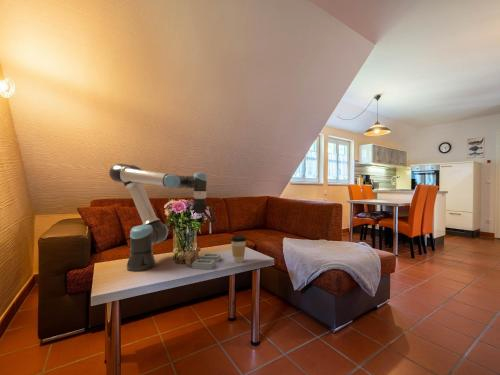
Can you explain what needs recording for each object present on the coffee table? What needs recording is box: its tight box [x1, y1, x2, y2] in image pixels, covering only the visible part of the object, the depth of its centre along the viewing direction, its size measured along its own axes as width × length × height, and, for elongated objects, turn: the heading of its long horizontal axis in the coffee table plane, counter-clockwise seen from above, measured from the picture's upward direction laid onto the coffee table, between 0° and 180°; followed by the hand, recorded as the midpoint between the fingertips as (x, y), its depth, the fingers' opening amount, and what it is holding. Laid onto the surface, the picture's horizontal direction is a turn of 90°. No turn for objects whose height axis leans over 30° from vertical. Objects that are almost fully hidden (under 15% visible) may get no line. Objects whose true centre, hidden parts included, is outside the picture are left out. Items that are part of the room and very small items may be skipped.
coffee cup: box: [230, 235, 247, 264], centre depth 145 cm, size 10×10×15 cm
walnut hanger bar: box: [182, 246, 202, 266], centre depth 142 cm, size 5×19×7 cm, turn 173°
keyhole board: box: [192, 252, 221, 270], centre depth 140 cm, size 11×20×3 cm, turn 173°
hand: (199, 233), depth 142 cm, fingers open, 13 cm apart
